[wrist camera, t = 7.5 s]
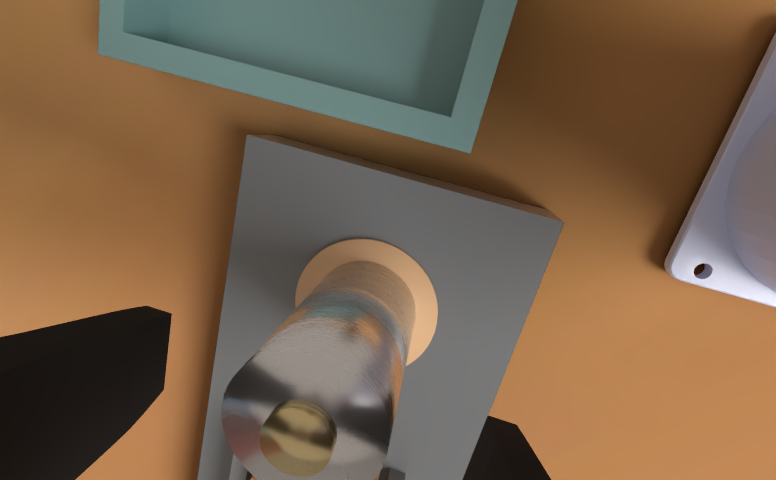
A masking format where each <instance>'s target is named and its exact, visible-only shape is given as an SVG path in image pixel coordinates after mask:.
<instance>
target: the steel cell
mask: <svg viewBox="0 0 776 480" xmlns="http://www.w3.org/2000/svg"><path fill="white" fill-rule="evenodd" d="M415 319H416V307H415V302H414V298H413V295H412V293H411V291H410V289H409V287H408V286H407V284H406V283H405V282H404V281H403V279H402V278H401V277H400V276H399V275H397V274H396V273H395V272H394V271H392V270H391V269H389V268H387V267H385V266H383V265H380V264H378V263H374V262H369V261H353V262H348V263H345V264H342V265H340V266H338V267H336V268H335V269H333V270H332V271H331V272H329V273H328V274H327V275H326V276H325V277H324V278H323V280H322V281H321V282H320V283H319V284H318V285H317V286H316V287H315V288H314V289H313V290H312V292H311V293H310V294H309V295H308V296H307V297H306V298H305V299H304V300H303V301H302V302H301V303H300V305H299V306H298V307H297V308H296V309H295V310H294V311H293V312H292V313H291V314H290V315H289V317H288V318H287V319H286V320H285V321H284V322H283V323H282V324H281V325H280V326H279V327H278V329H277V330H276V331H275V332H274V333H273V334H272V335H271V336H270V337H269V338H268V339H267V340H266V342H265V343H264V344H263V345H262V346H261V347H260V348H259V349H258V350H257V351H256V352H255V354H254V355H253V356H252V357H251V358H250V359H249V360H248V361H247V362H246V363H245V364H244V365H243V367H242V368H241V369H240V370H239V371H238V372H237V373H236V374H235V376H234V377H233V378H232V379H231V381H230V383H229V384H228V386H227V388H226V391H225V393H224V397H223V401H222V410H221V415H222V424H223V429H224V433H225V436H226V439H227V441H228V443H229V445H230V447H231V449H232V451H233V453H234V454H235V456H236V457H237V459H238V460H239V461H240V462H241V464H242V465H243V466H244V467H245V468H246V469H247V470H248V471H249V472H250V473H251V474H252V475H253V476H254V477H256V478H257V479H258V480H374V479H375V478H376V477H377V476H378V474H379V472H380V471H381V469H382V467H383V465H384V463H385V460H386V457H387V452H388V448H389V443H390V438H391V433H392V429H393V424H394V419H395V414H396V410H397V405H398V400H399V395H400V391H401V386H402V381H403V376H404V371H405V367H406V362H407V357H408V352H409V348H410V343H411V338H412V333H413V329H414V324H415Z"/></svg>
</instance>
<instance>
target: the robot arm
mask: <svg viewBox="0 0 776 480" xmlns="http://www.w3.org/2000/svg"><path fill="white" fill-rule="evenodd" d="M702 263H704V264H705V268H704V270H703V272H702V273H700V274H698V275H694V269H695V268H696V266H697V265H699V264H702ZM664 266H665V270H666V272H667V273H668V274H669V275H670V276H672V277H674V278H676V279H678V280H680V281H683V282H687V283H691V284H694V285H698V286H701V287H705V288H708V289H712V290H715V291H719V292H722V293H726V294H730V295H733V296H737V297H740V298H744V299H747V300H751V301H754V302H758V303H761V304H765V305H769V306H772V307H776V32H775V35H774V37H773V39H772V41H771V43H770V45H769V47H768V49H767V51H766V53H765V55H764V57H763V59H762V61H761V63H760V65H759V67H758V70H757V72H756V74H755V76H754V78H753V80H752V82H751V84H750V86H749V88H748V90H747V92H746V94H745V96H744V98H743V100H742V103H741V105H740V107H739V109H738V111H737V113H736V115H735V117H734V119H733V121H732V123H731V125H730V127H729V129H728V131H727V133H726V135H725V138H724V140H723V142H722V144H721V146H720V148H719V150H718V152H717V154H716V156H715V158H714V160H713V162H712V164H711V166H710V168H709V171H708V173H707V175H706V177H705V179H704V181H703V183H702V185H701V187H700V189H699V191H698V193H697V195H696V197H695V199H694V201H693V203H692V206H691V208H690V210H689V212H688V214H687V216H686V218H685V220H684V222H683V224H682V226H681V228H680V230H679V232H678V234H677V236H676V238H675V241H674V243H673V245H672V247H671V249H670V251H669V253H668V255H667V257H666V259H665V263H664ZM171 315H172V314H171V313H168V312H165V311H161V310H158V309H155V308H152V307H149V306H143V307H136V308H130V309H125V310H120V311H115V312H111V313H106V314H102V315H97V316H93V317H89V318H84V319H80V320H76V321H71V322H67V323H63V324H58V325H54V326H49V327H45V328H41V329H36V330H32V331H28V332H23V333H19V334H14V335H9V336H4V337H0V480H75V479H76V478H77V477H79V476H80V475H81V474H82V473H83V472H84V471H85V470H86V469H87V468H88V467H90V466H91V465H92V464H93V463H94V462H95V461H96V460H97V459H98V458H99V457H100V456H101V455H103V454H104V453H105V452H106V451H107V450H108V449H109V448H110V447H111V446H112V445H113V444H114V443H116V442H117V441H118V440H119V439H120V438H121V437H122V436H123V435H124V434H125V433H126V432H127V431H128V430H129V429H130V428H131V427H132V426H133V425H134V424H135V422H136V421H137V420H138V419H139V418H140V417H141V416H142V415H143V414H144V412H145V411H146V410H147V409H148V408H149V407H150V405H151V404H152V403H153V402H154V401H155V399H156V398H157V397H158V396H159V395H160V393H161V392H162V391H163V390H164V382H165V373H166V363H167V353H168V344H169V334H170V325H171ZM462 480H551V479H550V477H549V475H548V474H547V472H546V471H545V469H544V467H543V466H542V464H541V463H540V461H539V459H538V458H537V456H536V455H535V453H534V451H533V450H532V448H531V446H530V445H529V443H528V442H527V440H526V438H525V437H524V435H523V434H522V432H521V431H520V429H519V428H518V426H517V425H516V424H512V423H509V422H506V421H503V420H500V419H497V418H494V417H491V416H487V418H486V421H485V423H484V426H483V428H482V431H481V434H480V436H479V439H478V441H477V444H476V446H475V449H474V451H473V454H472V456H471V459H470V462H469V464H468V467H467V469H466V472H465V474H464V477H463V479H462Z"/></svg>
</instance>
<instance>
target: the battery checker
mask: <svg viewBox="0 0 776 480" xmlns="http://www.w3.org/2000/svg"><path fill="white" fill-rule="evenodd" d="M563 224H564V222H563V221H562V220H561V219H559V218H558V217H557V216H556V215H554V214H553V213H552V212H550V211H549V210H546V209H543V208H539V207H535V206H532V205H528V204H525V203H521V202H517V201H514V200H510V199H506V198H503V197H499V196H495V195H492V194H488V193H484V192H481V191H477V190H474V189H470V188H466V187H463V186H459V185H455V184H452V183H448V182H444V181H441V180H437V179H434V178H430V177H426V176H423V175H419V174H415V173H412V172H408V171H404V170H401V169H397V168H394V167H390V166H386V165H383V164H379V163H375V162H372V161H368V160H364V159H361V158H357V157H354V156H350V155H346V154H343V153H339V152H335V151H332V150H328V149H324V148H321V147H317V146H313V145H310V144H306V143H303V142H299V141H295V140H292V139H288V138H284V137H281V136H277V135H248V134H247V137H246V144H245V151H244V158H243V165H242V172H241V179H240V186H239V193H238V200H237V207H236V214H235V221H234V228H233V234H232V241H231V248H230V255H229V262H228V269H227V276H226V283H225V290H224V297H223V304H222V311H221V318H220V325H219V332H218V339H217V346H216V353H215V360H214V367H213V374H212V381H211V388H210V395H209V402H208V409H207V416H206V422H205V429H204V436H203V443H202V450H201V457H200V464H199V471H198V478H197V480H251V477H252V476H253V475H252V474H251V473H250V472H249V471H248V470H247V469H246V468H245V467H244V466H243V465H242V464H241V462H240V461H239V460H238V459H237V457H236V456H235V454H234V453H233V451H232V449H231V447H230V445H229V443H228V441H227V439H226V436H225V433H224V429H223V424H222V415H221V410H222V401H223V397H224V393H225V391H226V388H227V386H228V384H229V383H230V381H231V379H232V378H233V377H234V376H235V374H236V373H237V372H238V371H239V370H240V369H241V368H242V367H243V365H244V364H245V363H246V362H247V361H248V360H249V359H250V358H251V357H252V356H253V355H254V354H255V352H256V351H257V350H258V349H259V348H260V347H261V346H262V345H263V344H264V343H265V342H266V340H267V339H268V338H269V337H270V336H271V335H272V334H273V333H274V332H275V331H276V330H277V329H278V327H279V326H280V325H281V324H282V323H283V322H284V321H285V320H286V319H287V318H288V317H289V315H290V314H291V313H292V312H293V311H294V310H295V309H296V308H297V307H298V306H299V305H300V303H301V302H302V301H303V300H304V299H305V298H306V297H307V296H308V295H309V294H310V293H311V292H312V290H313V289H314V288H315V287H316V286H317V285H318V284H319V283H320V282H321V281H322V280H323V278H324V277H325V276H326V275H327V274H328V273H329V272H331V271H332V270H333V269H335V268H336V267H338V266H340V265H342V264H345V263H348V262H353V261H369V262H374V263H378V264H380V265H383V266H385V267H387V268H389V269H391V270H392V271H394V272H395V273H396V274H397V275H399V276H400V277H401V278H402V279H403V281H404V282H405V283H406V284H407V286H408V287H409V289H410V291H411V293H412V295H413V298H414V302H415V307H416V319H415V324H414V329H413V333H412V338H411V343H410V348H409V352H408V357H407V362H406V367H405V371H404V376H403V381H402V386H401V391H400V395H399V400H398V405H397V410H396V414H395V419H394V424H393V429H392V433H391V438H390V443H389V448H388V452H387V457H386V460H385V463H384V465H383V467H382V469H381V471H380V472H379V474H378V476H377V477H376V478H375V479H374V480H462V479H463V477H464V474H465V472H466V469H467V467H468V464H469V462H470V459H471V456H472V454H473V451H474V449H475V446H476V444H477V441H478V439H479V436H480V434H481V431H482V428H483V426H484V423H485V421H486V418H487V416H488V414H489V412H490V409H491V407H492V404H493V402H494V399H495V397H496V394H497V392H498V389H499V386H500V384H501V381H502V379H503V376H504V374H505V371H506V369H507V366H508V364H509V361H510V359H511V356H512V354H513V351H514V348H515V346H516V343H517V341H518V338H519V336H520V333H521V331H522V328H523V326H524V323H525V321H526V318H527V316H528V313H529V310H530V308H531V305H532V303H533V300H534V298H535V295H536V293H537V290H538V288H539V285H540V283H541V280H542V278H543V275H544V272H545V270H546V267H547V265H548V262H549V260H550V257H551V255H552V252H553V250H554V247H555V245H556V242H557V240H558V237H559V234H560V232H561V229H562V227H563Z"/></svg>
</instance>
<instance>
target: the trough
mask: <svg viewBox="0 0 776 480" xmlns="http://www.w3.org/2000/svg"><path fill="white" fill-rule="evenodd" d="M517 1H518V0H100V6H99V34H98V54H99V55H103V56H106V57H110V58H114V59H118V60H121V61H125V62H129V63H133V64H136V65H140V66H144V67H148V68H151V69H155V70H159V71H163V72H166V73H170V74H174V75H178V76H181V77H185V78H189V79H193V80H196V81H200V82H204V83H208V84H211V85H215V86H219V87H223V88H226V89H230V90H234V91H238V92H241V93H245V94H249V95H253V96H256V97H260V98H264V99H267V100H271V101H275V102H279V103H282V104H286V105H290V106H294V107H297V108H301V109H305V110H309V111H312V112H316V113H320V114H324V115H327V116H331V117H335V118H339V119H342V120H346V121H350V122H354V123H357V124H361V125H365V126H369V127H372V128H376V129H380V130H384V131H387V132H391V133H395V134H399V135H402V136H406V137H410V138H414V139H417V140H421V141H425V142H429V143H432V144H436V145H440V146H444V147H447V148H451V149H455V150H458V151H462V152H466V153H470V154H471V151H472V147H473V144H474V141H475V138H476V134H477V131H478V128H479V125H480V121H481V118H482V115H483V112H484V108H485V105H486V102H487V99H488V95H489V92H490V89H491V86H492V82H493V79H494V76H495V73H496V69H497V66H498V63H499V60H500V56H501V53H502V50H503V47H504V43H505V40H506V37H507V34H508V30H509V27H510V24H511V21H512V17H513V14H514V11H515V8H516V4H517Z"/></svg>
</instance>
